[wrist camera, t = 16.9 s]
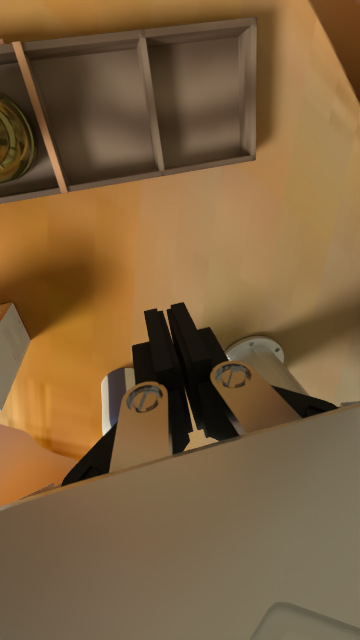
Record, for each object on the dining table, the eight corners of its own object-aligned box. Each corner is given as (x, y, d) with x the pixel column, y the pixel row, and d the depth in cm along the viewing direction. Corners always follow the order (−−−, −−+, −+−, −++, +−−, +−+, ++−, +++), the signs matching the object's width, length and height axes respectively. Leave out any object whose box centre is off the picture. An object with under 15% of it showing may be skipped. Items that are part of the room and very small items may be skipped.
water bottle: (112, 412, 50) (117, 602, 29) (89, 379, 45) (74, 577, 24) (156, 394, 50) (192, 570, 29) (137, 359, 45) (164, 540, 24)
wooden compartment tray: (243, 159, 34) (259, 159, 30) (-31, 205, 30) (-49, 212, 27) (242, 26, 28) (261, 8, 24) (-101, 64, 24) (-136, 50, 21)
